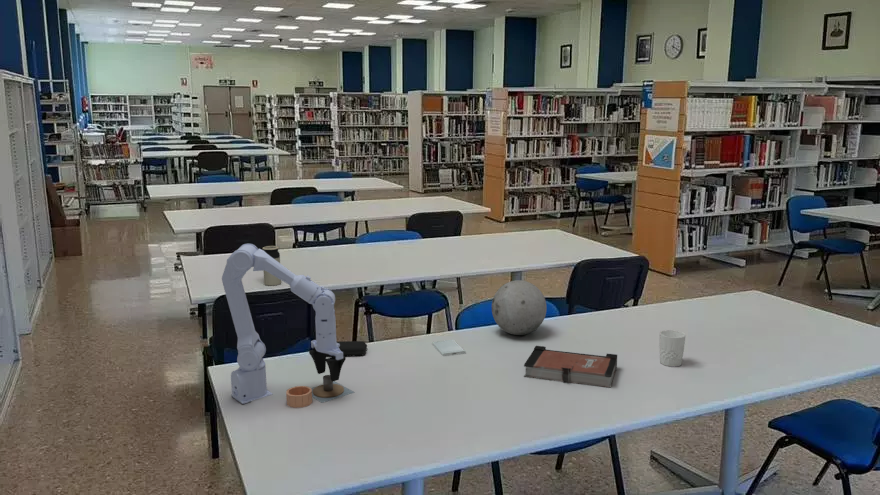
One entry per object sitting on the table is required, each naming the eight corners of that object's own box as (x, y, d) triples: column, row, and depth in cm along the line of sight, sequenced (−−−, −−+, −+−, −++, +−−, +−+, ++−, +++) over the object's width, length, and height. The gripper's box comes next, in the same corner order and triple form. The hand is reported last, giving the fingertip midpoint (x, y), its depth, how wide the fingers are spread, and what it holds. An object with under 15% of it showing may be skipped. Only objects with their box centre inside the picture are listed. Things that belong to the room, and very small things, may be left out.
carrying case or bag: (367, 346, 238) (325, 347, 237) (367, 338, 237) (325, 339, 237) (365, 357, 227) (321, 358, 227) (365, 349, 227) (321, 349, 226)
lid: (323, 400, 191) (322, 385, 190) (307, 391, 198) (306, 376, 197) (349, 392, 197) (349, 377, 196) (333, 383, 204) (332, 368, 203)
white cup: (687, 362, 219) (689, 333, 217) (677, 369, 214) (679, 339, 212) (664, 357, 224) (666, 328, 223) (653, 363, 219) (655, 334, 217)
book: (523, 379, 208) (523, 363, 207) (535, 359, 224) (535, 345, 223) (610, 390, 199) (611, 374, 198) (616, 369, 215) (617, 354, 214)
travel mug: (279, 286, 321) (276, 248, 318) (262, 286, 321) (260, 249, 318) (283, 281, 329) (281, 245, 326) (266, 282, 329) (264, 245, 326)
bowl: (294, 411, 186) (293, 398, 185) (282, 403, 191) (281, 390, 190) (316, 404, 190) (316, 391, 189) (304, 397, 195) (303, 384, 195)
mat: (321, 404, 190) (321, 402, 190) (302, 392, 198) (302, 390, 198) (354, 393, 197) (354, 392, 197) (334, 382, 205) (334, 381, 205)
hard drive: (432, 341, 238) (442, 353, 227) (454, 339, 241) (465, 350, 229) (432, 346, 239) (442, 358, 227) (454, 343, 241) (465, 355, 229)
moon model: (557, 335, 247) (558, 282, 243) (515, 346, 236) (516, 291, 232) (521, 322, 263) (522, 272, 259) (480, 331, 252) (480, 279, 248)
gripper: (351, 334, 191) (353, 380, 194) (324, 323, 202) (326, 366, 205) (330, 340, 187) (332, 386, 189) (303, 328, 197) (306, 372, 200)
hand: (328, 376), depth 197 cm, fingers open, 7 cm apart
